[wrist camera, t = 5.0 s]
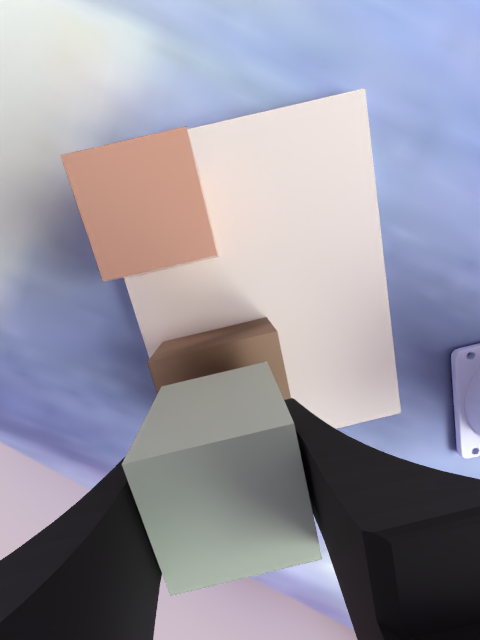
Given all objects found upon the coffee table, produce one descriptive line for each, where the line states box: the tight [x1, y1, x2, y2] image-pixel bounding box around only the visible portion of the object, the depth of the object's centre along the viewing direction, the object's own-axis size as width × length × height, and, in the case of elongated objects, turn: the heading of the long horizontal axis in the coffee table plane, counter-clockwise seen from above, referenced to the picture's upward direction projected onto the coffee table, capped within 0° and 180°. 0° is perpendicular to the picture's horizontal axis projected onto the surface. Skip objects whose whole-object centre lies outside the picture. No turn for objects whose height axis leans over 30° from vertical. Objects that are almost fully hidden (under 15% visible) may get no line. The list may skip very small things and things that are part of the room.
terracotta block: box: [61, 126, 219, 282], centre depth 12 cm, size 4×4×4 cm
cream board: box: [124, 88, 401, 429], centre depth 16 cm, size 14×18×1 cm
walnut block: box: [147, 317, 291, 400], centre depth 15 cm, size 6×6×3 cm
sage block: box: [122, 362, 322, 596], centre depth 9 cm, size 4×4×4 cm
